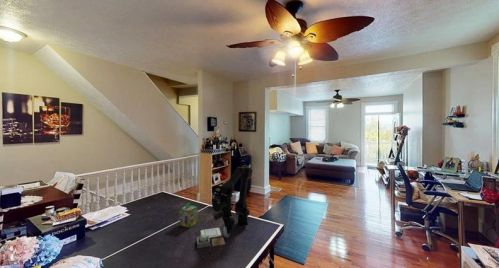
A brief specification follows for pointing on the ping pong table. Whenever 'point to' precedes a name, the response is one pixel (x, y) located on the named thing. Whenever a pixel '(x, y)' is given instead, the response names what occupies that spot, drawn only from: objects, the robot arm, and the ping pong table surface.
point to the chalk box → (188, 215)
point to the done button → (203, 238)
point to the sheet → (211, 232)
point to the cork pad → (218, 241)
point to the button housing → (203, 244)
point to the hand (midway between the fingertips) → (226, 230)
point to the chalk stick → (225, 232)
